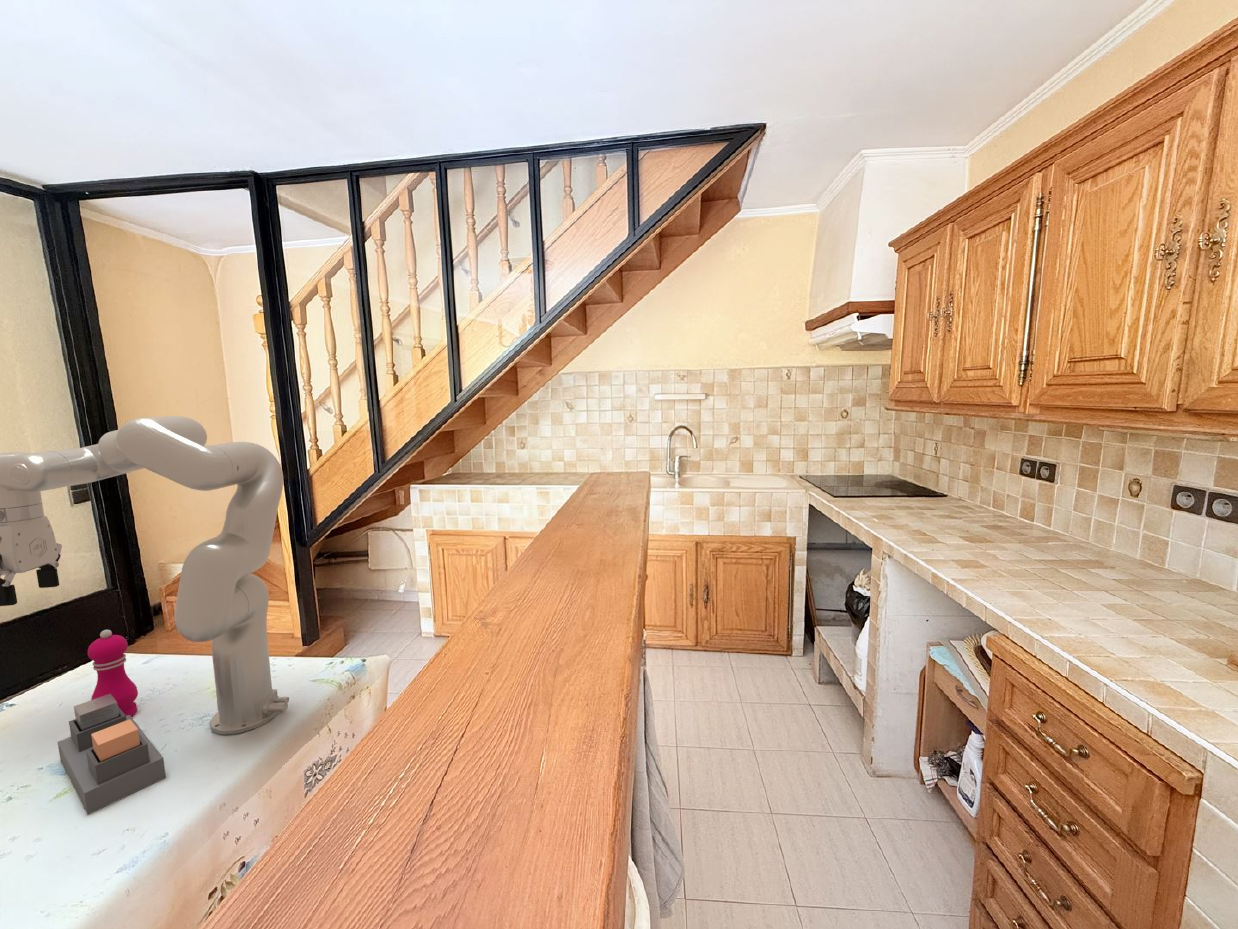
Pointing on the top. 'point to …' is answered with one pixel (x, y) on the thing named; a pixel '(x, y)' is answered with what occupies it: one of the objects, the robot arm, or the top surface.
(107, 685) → the pepper mill
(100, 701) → the grey button
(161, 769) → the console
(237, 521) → the robot arm
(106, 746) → the terracotta button
